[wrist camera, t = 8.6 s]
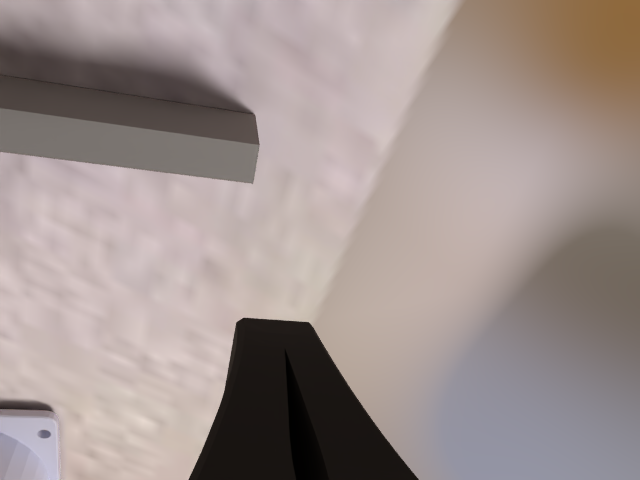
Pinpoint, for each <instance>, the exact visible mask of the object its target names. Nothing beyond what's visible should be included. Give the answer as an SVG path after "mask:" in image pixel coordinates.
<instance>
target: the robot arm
mask: <svg viewBox="0 0 640 480" xmlns="http://www.w3.org/2000/svg"><path fill="white" fill-rule="evenodd" d="M46 430H48V431H46ZM0 480H61V463H60V434H59V418H58V416H57V415H56V414H55V413H53V412H51V411H46V410H14V409H0ZM189 480H419V479H418V478H417V477H416V476H415V475H414V473H413V472H412V471H411V470H410V468H409V467H408V466H407V465H406V464H405V462H404V461H403V460H402V459H401V458H400V456H399V455H398V454H397V452H396V451H395V450H394V449H393V447H392V446H391V445H390V443H389V442H388V441H387V439H386V438H385V437H384V436H383V434H382V433H381V431H380V430H379V429H378V427H377V426H376V425H375V423H374V422H373V420H372V419H371V418H370V416H369V415H368V413H367V412H366V410H365V409H364V408H363V406H362V405H361V403H360V402H359V400H358V399H357V398H356V396H355V395H354V393H353V392H352V390H351V389H350V387H349V386H348V384H347V382H346V381H345V379H344V378H343V376H342V375H341V373H340V372H339V370H338V368H337V367H336V365H335V364H334V362H333V360H332V359H331V357H330V355H329V354H328V352H327V350H326V349H325V347H324V345H323V344H322V342H321V340H320V338H319V337H318V335H317V333H316V332H315V330H314V328H313V327H312V325H311V324H310V323H309V322H297V321H283V320H268V319H254V318H243V319H241V320H239V321H238V322H236V328H235V334H234V339H233V345H232V351H231V357H230V362H229V368H228V374H227V380H226V385H225V391H224V395H223V398H222V401H221V404H220V407H219V409H218V412H217V415H216V417H215V420H214V422H213V425H212V427H211V430H210V432H209V435H208V437H207V440H206V442H205V445H204V447H203V449H202V452H201V454H200V456H199V458H198V461H197V463H196V465H195V467H194V469H193V471H192V474H191V476H190V478H189Z"/></svg>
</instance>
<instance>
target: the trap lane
mask: <svg viewBox="0 0 640 480" xmlns="http://www.w3.org/2000/svg"><path fill="white" fill-rule="evenodd" d="M258 151H259V138H258V131H257V124H256V117H255V114H248V113H242V112H235V111H229V110H222V109H216V108H210V107H203V106H197V105H190V104H184V103H177V102H171V101H164V100H158V99H152V98H145V97H139V96H132V95H126V94H119V93H113V92H106V91H100V90H94V89H87V88H81V87H74V86H68V85H61V84H55V83H48V82H42V81H36V80H29V79H23V78H16V77H10V76H3V75H0V152H6V153H14V154H22V155H30V156H38V157H46V158H54V159H62V160H70V161H77V162H85V163H93V164H101V165H109V166H117V167H125V168H133V169H141V170H149V171H157V172H165V173H173V174H181V175H189V176H196V177H204V178H212V179H220V180H228V181H236V182H244V183H252V184H253V181H254V175H255V169H256V163H257V157H258Z"/></svg>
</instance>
